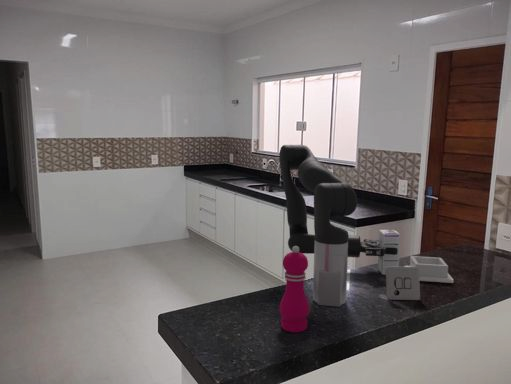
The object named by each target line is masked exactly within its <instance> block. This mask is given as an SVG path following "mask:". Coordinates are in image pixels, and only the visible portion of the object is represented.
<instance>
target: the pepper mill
mask: <svg viewBox="0 0 511 384" xmlns="http://www.w3.org/2000/svg"><path fill="white" fill-rule="evenodd" d="M282 266H283V269H284V270H285V271H284V279H285V282H286V285H285V286H286V287H285V290H284V293H283V296H282V297H281V300H280V304H279V309H278V310H279V313H280V316H281V320H280V322H281V323H280V324H281V325H280V327H281V328H282V329H283V331H286V332H290V333H301V332H304V331H306V330H307V328H308V319H307V317H308V316H309V315H310V304H309V301H308V298H307V296H306V294H305V293H306V292H305V285H304V282H305V280H306V272H305V271H306V270H307V269H308V267H309V260H308V257H307V256H306V255H305V253H300V252H299V247H298V246H294V247H293V248H292V251H291V252H289V253H287V254H286V255H285V256H284V257H283V260H282Z"/></svg>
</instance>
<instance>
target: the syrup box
mask: <svg viewBox="0 0 511 384" xmlns="http://www.w3.org/2000/svg"><path fill="white" fill-rule="evenodd" d="M400 236H401V233H399V232H398V231H397V230H395V229H379V232H378V240H379V246H381V247H390V248H397V249H398V252H397V255H391V254H385V255H384V256H377V270H378V271H379V273H380V274H381V275H383V276H386V267H388V266H392V267H400V243H401V242H400V241H401V240H400V239H401V237H400ZM379 252H380V250H379Z"/></svg>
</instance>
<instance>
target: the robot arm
mask: <svg viewBox="0 0 511 384" xmlns="http://www.w3.org/2000/svg"><path fill="white" fill-rule="evenodd" d="M278 156H279V157H278V158H279V167H280V172H281V179H282V184H283V189H284V190H283V191H284V195H285V201H286V215H287V217H286V218H287V219H286V220H287V224H288V227H289V229H288V230H289V238H288V241H287V246H288V248H289V250H290V251H291V252H292V248H293V247H294V246H298V247H299V252H300V253H302V254H304V255H305V254H307V255H308V254H311V255H312V254H313V288H312V289H313V291H312V292H313V293H312V294H313V295H312V296H313V297H312V299H313V301H314V302H315V303H316V304H317V305H318V306H328V307H336V308H337V307H338V308H339V307H342V305H345V304H346V303H347V287H348V283H347V282H348V262H349V261H348V259H349V258H355V259H356V258H360V256H361V253H364V254H365V256H367V257H378V256H384V255H385V254H391V255H397V252H398V249H397V248H390V247H381V246H379V239H367V238H365V239H363V241H361V237H360V236H359V235H353V234H352V235H350V234H349V232H348V231H347V230H346V229H344V228H342V227H338V226H335V225H334V224H332V223H331V221H330V218H332V217H333V218H334V217H335V218H336V217H347V216H350V215H352V214H354V212H355V211H356V209H357V207H358V198H357V194H356V191H355V190H354V187H353V186H352V185H351V184H349V182H347V181H345V180H343V179H341V178H340V177H338V176H336V175H335V174H334V173H333V172H332V171H331V170H329V169H328V168H327V166H326V165H325V164H323V163H322V162H321V161H320V160H319V159H318V158H317V157H315V154H313V152H312V150H311V149H310V147H308V146H307V145H304V144H284V145H282V146H281V147H280V150H279V155H278ZM291 171H297V179H298V180H299V182H300V183H301V185H303V187H304V188H305V189H306V190H307V191H309V192H311V193H313V217H314V218H313V222H314V223H313V224H314V225H313V230H314V234H310V233H309V230H308V217H307V216H308V215H307V213H308V212H307V203H306V199H305V198H304V196H303V194H302V193H301V191H300V189H299V188H298V187H297V185H296V184H295V182H294V179H293V177H292V173H291ZM379 250H380V252H379Z"/></svg>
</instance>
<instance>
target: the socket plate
mask: <svg viewBox="0 0 511 384" xmlns="http://www.w3.org/2000/svg"><path fill="white" fill-rule="evenodd" d="M409 257H410V260H409V265H404V267H417V268H418V269H419V282H431V283H432V282H433V283H434V282H437V283H445V284H447V283H448V284H449V283H450V284H454V278H453V277H452V276H451V274H449V265H448V264H447V263H446V262H445V261H444V259H443V258H441V257H434V256H416V255H410V256H409Z"/></svg>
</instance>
